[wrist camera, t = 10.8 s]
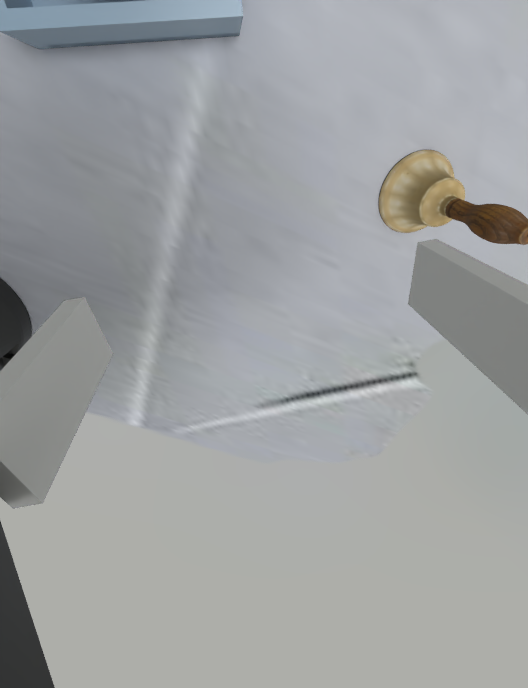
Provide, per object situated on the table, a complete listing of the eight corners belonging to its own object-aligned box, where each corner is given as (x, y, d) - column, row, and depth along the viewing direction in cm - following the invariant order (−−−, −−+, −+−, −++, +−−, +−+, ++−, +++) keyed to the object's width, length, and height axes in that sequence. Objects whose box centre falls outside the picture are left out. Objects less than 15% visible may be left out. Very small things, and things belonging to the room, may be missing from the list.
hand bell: (420, 242, 38) (526, 302, 25) (364, 216, 35) (448, 267, 22) (468, 170, 34) (624, 196, 21) (408, 134, 31) (543, 138, 18)
